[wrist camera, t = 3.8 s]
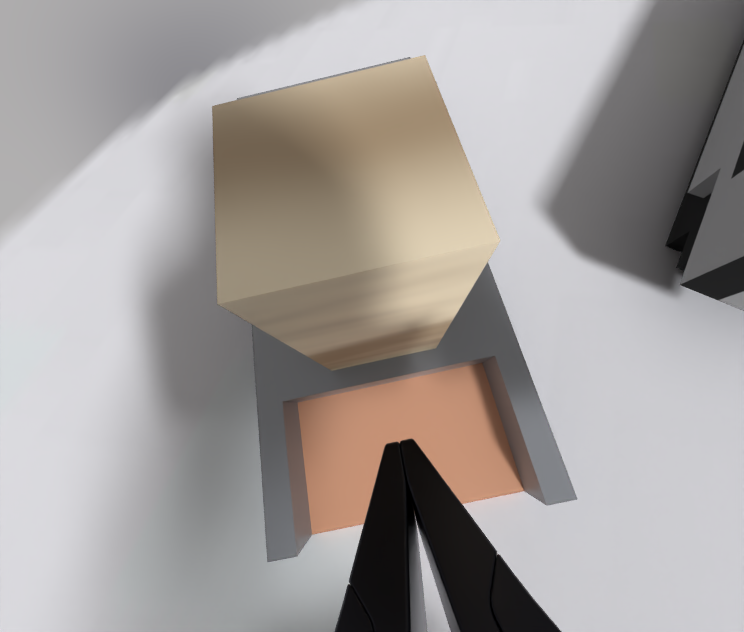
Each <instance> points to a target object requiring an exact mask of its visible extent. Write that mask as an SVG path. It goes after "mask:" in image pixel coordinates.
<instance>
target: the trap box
mask: <svg viewBox="0 0 744 632" xmlns="http://www.w3.org/2000/svg"><path fill="white" fill-rule="evenodd" d="M407 59H411V58H410V57H408V58H404V59H400V60H396V61H391V62H387V63H383V64H379V65H375V66H371V67H366V68H362V69H358V70H354V71H350V72H346V73H341V74H337V75H333V76H329V77H325V78H320V79H316V80H312V81H308V82H304V83H300V84H295V85H291V86H287V87H283V88H279V89H275V90H270V91H266V92H262V93H258V94H254V95H250V96H245V97H241V98H237V100H240V99H244V98H248V97H253V96H257V95H261V94H265V93H269V92H273V91H278V90H282V89H286V88H290V87H294V86H298V85H303V84H307V83H311V82H315V81H319V80H324V79H328V78H332V77H336V76H340V75H344V74H349V73H353V72H357V71H361V70H365V69H369V68H374V67H378V66H382V65H386V64H390V63H394V62H399V61H403V60H407ZM252 336H253V351H254V366H255V381H256V396H257V411H258V426H259V441H260V456H261V471H262V487H263V502H264V517H265V532H266V547H267V562H272V561H277V560H282V559H286V558H291V557H296V556H297V555H298V554H299V553H300V551H301V550H302V548H303V547H304V545H305V544H306V543H307V541H308V540H309V538H310V537H311V535H312V534H317V533H322V532H327V531H332V530H337V529H342V528H346V527H351V526H356V525H361V524H364V522H365V518H366V514H367V511H368V507H369V503H370V499H371V496H372V492H373V488H374V484H375V480H376V477H377V473H378V469H379V465H380V462H381V458H382V454H383V450H384V447H385V445H386V444H387V443H392V442H396V441H397V442H399V444H400V441H402V440H406V439H411V438H412V439H414V440H415V441H416V443H417V444H418V446H419V447H420V448H421V450H422V451H423V452H424V454H425V455H426V456H427V458H428V459H429V460H430V462H431V463H432V464H433V466H434V467H435V468H436V470H437V471H438V472H439V474H440V475H441V477H442V478H443V479H444V481H445V482H446V483H447V485H448V486H449V487H450V489H451V490H452V491H453V493H454V494H455V495H456V497H457V498H458V499H459V501H460V502H461V503H462V504H464V503H468V502H473V501H478V500H483V499H488V498H493V497H498V496H503V495H508V494H512V493H517V492H522V491H525V492H527V493H528V494H530V495H531V496H533V497H534V498H536V499H538V500H539V501H541V502H542V503H544V504H545V505H552V504H557V503H562V502H567V501H572V500H576V499H577V497H576V494H575V491H574V489H573V486H572V483H571V481H570V478H569V476H568V473H567V470H566V468H565V465H564V462H563V460H562V457H561V454H560V452H559V449H558V446H557V444H556V441H555V439H554V436H553V433H552V431H551V428H550V425H549V423H548V420H547V417H546V415H545V412H544V409H543V407H542V404H541V402H540V399H539V396H538V394H537V391H536V388H535V386H534V383H533V380H532V378H531V375H530V372H529V370H528V367H527V365H526V362H525V359H524V357H523V354H522V351H521V349H520V346H519V343H518V341H517V338H516V335H515V333H514V330H513V327H512V325H511V322H510V320H509V317H508V314H507V312H506V309H505V306H504V304H503V301H502V298H501V296H500V293H499V290H498V288H497V285H496V283H495V280H494V277H493V275H492V272H491V269H490V267H489V264H488V262H487V264H486V265H485V267H484V269H483V270H482V272H481V274H480V275H479V277H478V279H477V281H476V282H475V284H474V286H473V287H472V289H471V291H470V292H469V294H468V296H467V297H466V299H465V301H464V302H463V304H462V306H461V307H460V309H459V311H458V312H457V314H456V316H455V317H454V319H453V321H452V322H451V324H450V326H449V327H448V329H447V331H446V332H445V334H444V336H443V337H442V339H441V341H440V342H439V344H438V346H437V347H436V348H435V349H430V350H426V351H421V352H417V353H412V354H407V355H403V356H398V357H393V358H389V359H384V360H380V361H375V362H370V363H366V364H361V365H357V366H352V367H347V368H343V369H338V370H334V371H331V370H330V369H328V368H326V367H324V366H323V365H321V364H319V363H317V362H316V361H314V360H312V359H311V358H309V357H307V356H305V355H304V354H302V353H300V352H299V351H297V350H295V349H293V348H292V347H290V346H288V345H287V344H285V343H283V342H281V341H280V340H278V339H276V338H275V337H273V336H271V335H269V334H268V333H266V332H264V331H262V330H261V329H259V328H257V327H256V326H254V325H252Z"/></svg>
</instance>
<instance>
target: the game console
mask: <svg viewBox="0 0 744 632" xmlns="http://www.w3.org/2000/svg"><path fill="white" fill-rule="evenodd" d="M666 246H667V247H670V248H672V249H675V250H678V251H680V252H682V254H681V257H680V259H679V262H678V265H677V268H679V269H681V270H684V274H683V277H682V279H681V282H680V285H682V286H684V287H687V288H689V289H691V290H694V291H696V292H699V293H701V294H704V295H706V296H709V297H711V298H714V299H716V300H719V301H721V302H724V303H726V304H729V305H731V306H733V307H736V308H738V309H741V310H743V311H744V41H743V44H742V46H741V49H740V52H739V54H738V57H737V60H736V62H735V65H734V67H733V70H732V73H731V75H730V78H729V81H728V83H727V86H726V88H725V91H724V94H723V96H722V99H721V102H720V104H719V107H718V109H717V112H716V115H715V117H714V120H713V123H712V125H711V128H710V130H709V133H708V136H707V138H706V141H705V144H704V146H703V149H702V151H701V154H700V157H699V159H698V162H697V165H696V167H695V170H694V172H693V175H692V178H691V180H690V183H689V186H688V188H687V191H686V193H685V196H684V199H683V201H682V204H681V207H680V209H679V212H678V214H677V217H676V220H675V222H674V225H673V228H672V230H671V233H670V235H669V238H668V241H667V243H666Z"/></svg>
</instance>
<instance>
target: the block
mask: <svg viewBox="0 0 744 632" xmlns="http://www.w3.org/2000/svg"><path fill="white" fill-rule="evenodd" d="M212 116H213V155H214V194H215V234H216V273H217V304H218V305H220V306H221V307H223V308H225V309H226V310H228V311H230V312H232V313H233V314H235V315H237V316H238V317H240V318H242V319H244V320H245V321H247V322H249V323H250V324H252V325H254V326H256V327H257V328H259V329H261V330H262V331H264V332H266V333H268V334H269V335H271V336H273V337H275V338H276V339H278V340H280V341H281V342H283V343H285V344H287V345H288V346H290V347H292V348H293V349H295V350H297V351H299V352H300V353H302V354H304V355H305V356H307V357H309V358H311V359H312V360H314V361H316V362H317V363H319V364H321V365H323V366H324V367H326V368H328V369H330V370H331V371H334V370H338V369H343V368H347V367H352V366H357V365H361V364H366V363H370V362H375V361H380V360H384V359H389V358H393V357H398V356H403V355H407V354H412V353H417V352H421V351H426V350H430V349H435V348H436V347H437V346H438V344H439V342H440V341H441V339H442V337H443V336H444V334H445V332H446V331H447V329H448V327H449V326H450V324H451V322H452V321H453V319H454V317H455V316H456V314H457V312H458V311H459V309H460V307H461V306H462V304H463V302H464V301H465V299H466V297H467V296H468V294H469V292H470V291H471V289H472V287H473V286H474V284H475V282H476V281H477V279H478V277H479V275H480V274H481V272H482V270H483V269H484V267H485V265H486V264H487V262H488V260H489V259H490V257H491V255H492V254H493V252H494V250H495V249H496V247H497V245H498V244H499V242H500V239H499V236H498V234H497V231H496V229H495V226H494V224H493V222H492V219H491V217H490V214H489V212H488V209H487V207H486V204H485V202H484V199H483V197H482V194H481V192H480V190H479V187H478V185H477V182H476V180H475V177H474V175H473V172H472V170H471V167H470V165H469V162H468V160H467V157H466V155H465V153H464V150H463V148H462V145H461V143H460V140H459V138H458V135H457V133H456V130H455V128H454V125H453V123H452V121H451V118H450V116H449V113H448V111H447V108H446V106H445V103H444V101H443V98H442V96H441V93H440V91H439V89H438V86H437V84H436V81H435V79H434V76H433V74H432V71H431V69H430V66H429V64H428V61H427V59H426V56H425V55H424V56H420V57H415V58H411V59H407V60H403V61H399V62H394V63H390V64H386V65H382V66H378V67H374V68H369V69H365V70H361V71H357V72H353V73H349V74H344V75H340V76H336V77H332V78H328V79H324V80H319V81H315V82H311V83H307V84H303V85H298V86H294V87H290V88H286V89H282V90H278V91H273V92H269V93H265V94H261V95H257V96H253V97H248V98H244V99H240V100H236V101H232V102H227V103H223V104H219V105H215V106H212Z"/></svg>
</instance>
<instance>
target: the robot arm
mask: <svg viewBox="0 0 744 632" xmlns="http://www.w3.org/2000/svg"><path fill="white" fill-rule="evenodd" d="M415 517H416V519H415ZM416 521H417V525H418V528H419V532H420V535H421V538H422V542H423V545H424V548H425V551H426V554H427V557H428V561H429V564H430V567H431V570H432V573H433V576H434V579H435V583H436V586H437V589H438V592H439V595H440V598H441V602H442V605H443V608H444V611H445V614H446V617H447V620H448V624H449V627H450V630H451V632H561V631H560V630H559V628H558V627H557V626H556V625H555V624H554V622H553V621H552V620H551V619H550V618H549V617H548V615H547V614H546V613H545V612H544V611H543V609H542V608H541V607H540V606H539V605H538V604H537V602H536V601H535V600H534V599H533V598H532V596H531V595H530V594H529V592H528V591H527V590H526V589H525V587H524V586H523V585H522V583H521V582H520V581H519V580H518V578H517V577H516V576H515V575H514V573H513V572H512V571H511V569H510V568H509V567H508V565H507V564H506V563H505V561H504V560H503V558H502V557H501V556H500V555H499V554H498V555H497V551H496V549H495V548H494V547H493V545H492V544H491V543H490V541H489V540H488V539H487V537H486V536H485V534H484V533H483V532H482V530H481V529H480V528H479V526H478V525H477V524H476V522H475V521H474V520H473V518H472V517H471V516H470V514H469V513H468V512H467V510H466V509H465V508H464V506H463V505H462V503H461V502H460V501H459V499H458V498H457V497H456V495H455V494H454V493H453V491H452V490H451V489H450V487H449V486H448V485H447V483H446V482H445V481H444V479H443V478H442V477H441V475H440V474H439V472H438V471H437V470H436V468H435V467H434V466H433V464H432V463H431V462H430V460H429V459H428V458H427V456H426V455H425V454H424V452H423V451H422V450H421V448H420V447H419V446H418V444H417V443H416V441H415V440H414V439H412V438H411V439H406V440H402V441H400V444H399V442H397V441H396V442H392V443H387V444H386V445H385V447H384V450H383V454H382V458H381V462H380V465H379V469H378V473H377V477H376V480H375V484H374V488H373V492H372V496H371V499H370V503H369V507H368V511H367V514H366V518H365V522H364V526H363V529H362V533H361V537H360V541H359V545H358V548H357V552H356V556H355V560H354V563H353V567H352V571H351V575H350V578H349V583H350V584H348V586H347V589H346V593H345V597H344V600H343V604H342V608H341V611H340V615H339V618H338V622H337V625H336V628H335V632H427V623H426V613H425V603H424V593H423V583H422V572H421V562H420V552H419V542H418V533H417V525H416Z"/></svg>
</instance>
